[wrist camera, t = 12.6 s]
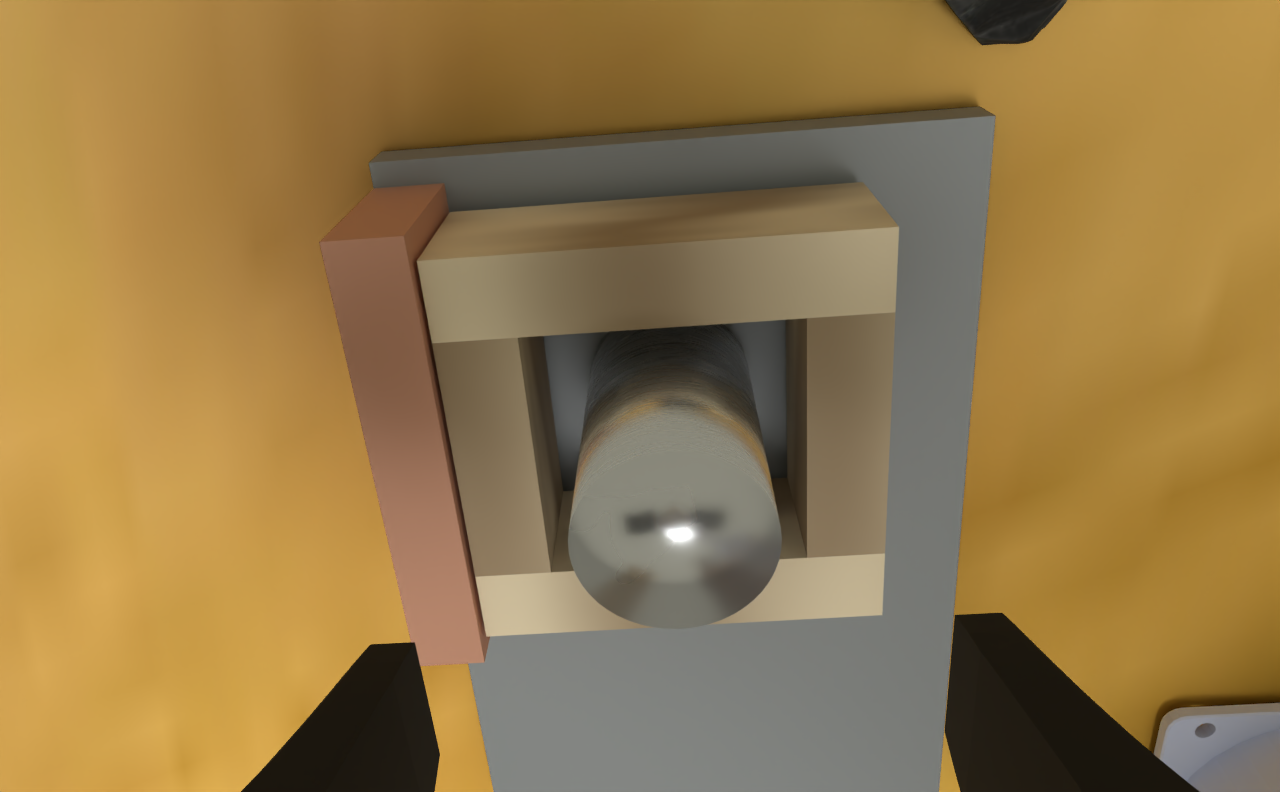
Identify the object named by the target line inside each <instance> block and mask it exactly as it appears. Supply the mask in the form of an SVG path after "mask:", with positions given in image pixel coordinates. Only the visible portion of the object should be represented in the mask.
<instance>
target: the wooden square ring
mask: <svg viewBox="0 0 1280 792" xmlns="http://www.w3.org/2000/svg"><path fill="white" fill-rule="evenodd" d="M898 241H899V226H898V225H897V224H896V222H895V221H894V220H893V219H892V217H891V216H890V215H889V214H888V212H887V211H886V210H885V209H884V208H883V206H882V205H881V204H880V203H879V201H878V200H877V199H876V198H875V196H874V195H873V194H872V193H871V191H870V190H869V189H868V188H867V186H866V185H865V184H864V183H863V182H856V183H842V184H829V185H815V186H801V187H787V188H774V189H760V190H746V191H732V192H719V193H705V194H691V195H677V196H664V197H650V198H636V199H622V200H609V201H595V202H581V203H567V204H554V205H540V206H526V207H512V208H499V209H485V210H471V211H457V212H450V213H449V214H448V216H447V217H446V218H445V220H444V221H443V223H442V224H441V226H440V227H439V229H438V230H437V232H436V233H435V235H434V236H433V238H432V239H431V241H430V242H429V244H428V245H427V247H426V248H425V250H424V251H423V253H422V254H421V255H420V257H419V258H418V260H417V265H418V271H419V276H420V281H421V287H422V292H423V297H424V303H425V308H426V314H427V319H428V324H429V330H430V335H431V341H432V346H433V351H434V357H435V362H436V368H437V373H438V378H439V384H440V389H441V395H442V400H443V405H444V411H445V416H446V422H447V427H448V432H449V438H450V443H451V448H452V454H453V459H454V465H455V470H456V475H457V481H458V486H459V492H460V497H461V502H462V508H463V513H464V519H465V524H466V529H467V535H468V540H469V546H470V551H471V556H472V562H473V567H474V572H475V578H476V583H477V589H478V594H479V599H480V605H481V610H482V616H483V621H484V626H485V632H486V637H488V636H507V635H525V634H544V633H562V632H581V631H599V630H617V629H636V628H654V627H650V626H644V625H641V624H637V623H634V622H631V621H629V620H626V619H624V618H622V617H619V616H617V615H616V614H614V613H612V612H610V611H609V610H607V609H606V608H604V607H603V606H602V605H600V604H599V603H598V602H597V601H596V600H595V599H594V598H593V597H592V596H591V595H590V594H589V593H588V592H587V591H586V590H585V588H584V587H583V586H582V584H581V583H580V581H579V579H578V578H577V576H576V574H575V572H574V569H573V567H572V564H571V560H570V556H569V549H568V534H569V525H570V518H571V510H572V503H573V496H574V491H563V486H562V478H561V470H560V463H559V455H558V447H557V439H556V432H555V424H554V416H553V409H552V401H551V393H550V386H549V378H548V370H547V363H546V355H545V347H544V340H543V336H550V335H565V334H580V333H595V332H609V331H624V330H639V329H654V328H669V327H684V326H699V325H714V324H729V323H744V322H759V321H773V320H786V390H787V478H774V479H771V482H772V487H773V492H774V497H775V502H776V506H777V511H778V516H779V521H780V526H781V535H782V546H781V554H780V558H779V562H778V565H777V567H776V570H775V572H774V574H773V576H772V578H771V580H770V581H769V583H768V584H767V586H766V587H765V588H764V590H763V591H762V592H761V593H760V594H759V595H758V596H757V597H756V598H755V599H754V600H753V601H752V602H751V603H749V604H748V605H747V606H746V607H744V608H743V609H741V610H740V611H738V612H736V613H735V614H733V615H731V616H729V617H727V618H725V619H722V620H720V621H717V622H714V623H711V624H728V623H746V622H765V621H783V620H802V619H820V618H838V617H857V616H875V615H882V612H883V588H884V565H885V542H886V519H887V496H888V473H889V449H890V426H891V403H892V380H893V357H894V334H895V311H896V287H897V264H898ZM708 625H709V624H708Z"/></svg>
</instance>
